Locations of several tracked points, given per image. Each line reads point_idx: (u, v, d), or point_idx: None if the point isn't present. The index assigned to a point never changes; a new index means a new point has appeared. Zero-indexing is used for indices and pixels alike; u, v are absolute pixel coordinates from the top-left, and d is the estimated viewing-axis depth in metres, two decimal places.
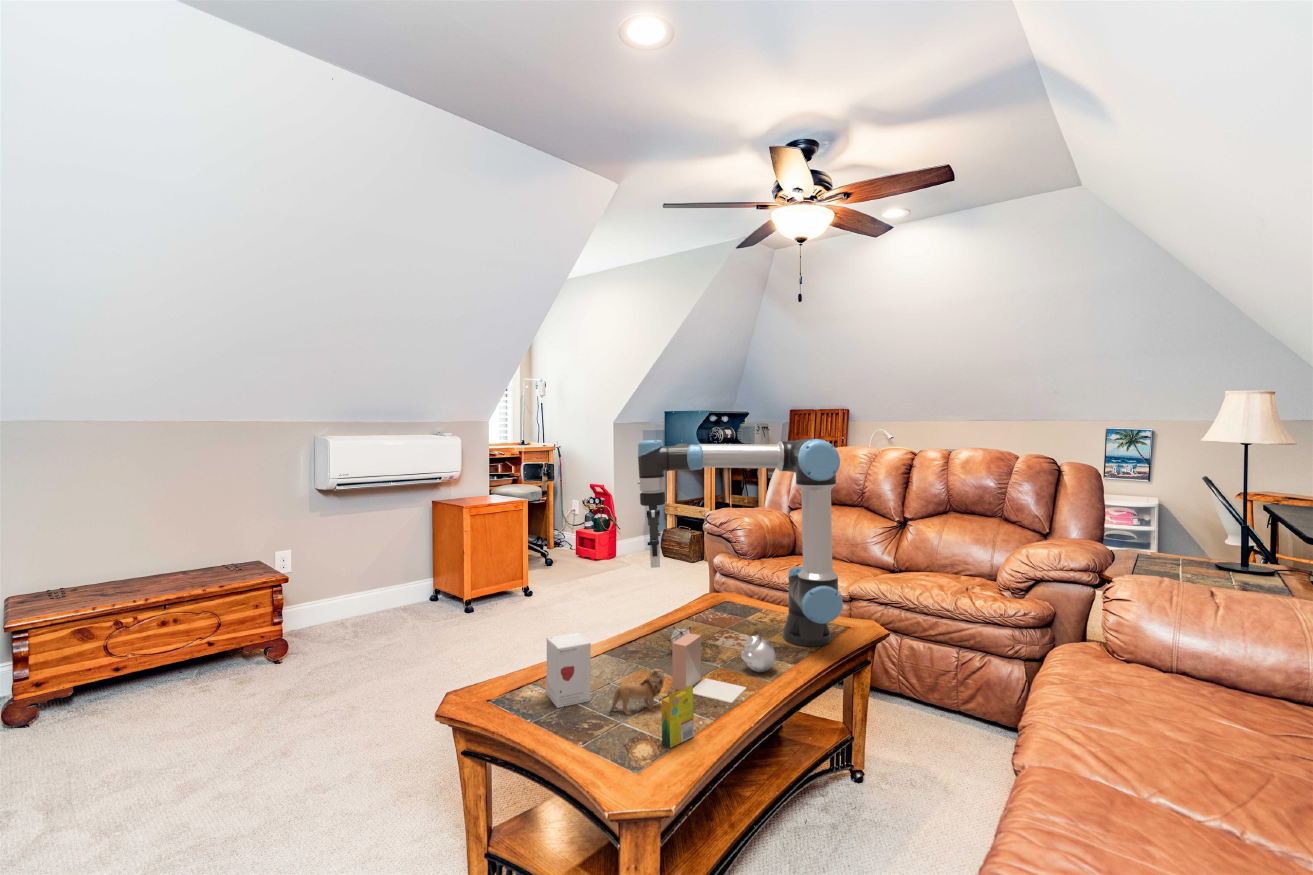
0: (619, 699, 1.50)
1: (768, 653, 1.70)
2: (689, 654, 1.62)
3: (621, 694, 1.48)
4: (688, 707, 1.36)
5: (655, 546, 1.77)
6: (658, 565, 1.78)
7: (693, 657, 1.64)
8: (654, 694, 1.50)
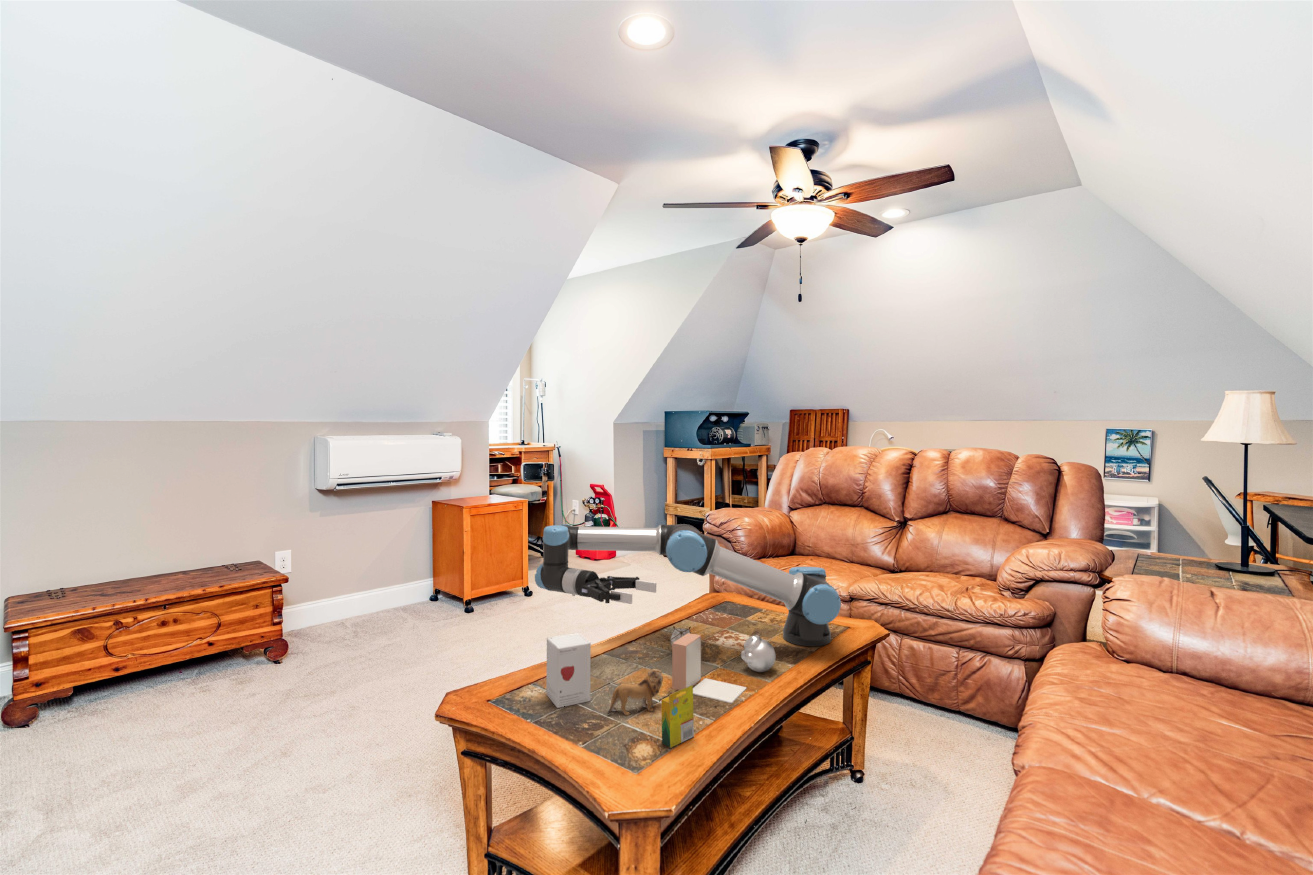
0: (617, 699, 1.50)
1: (768, 653, 1.70)
2: (689, 654, 1.62)
3: (619, 694, 1.48)
4: (688, 707, 1.36)
5: (609, 595, 1.68)
6: (629, 595, 1.66)
7: (693, 657, 1.64)
8: (652, 694, 1.50)
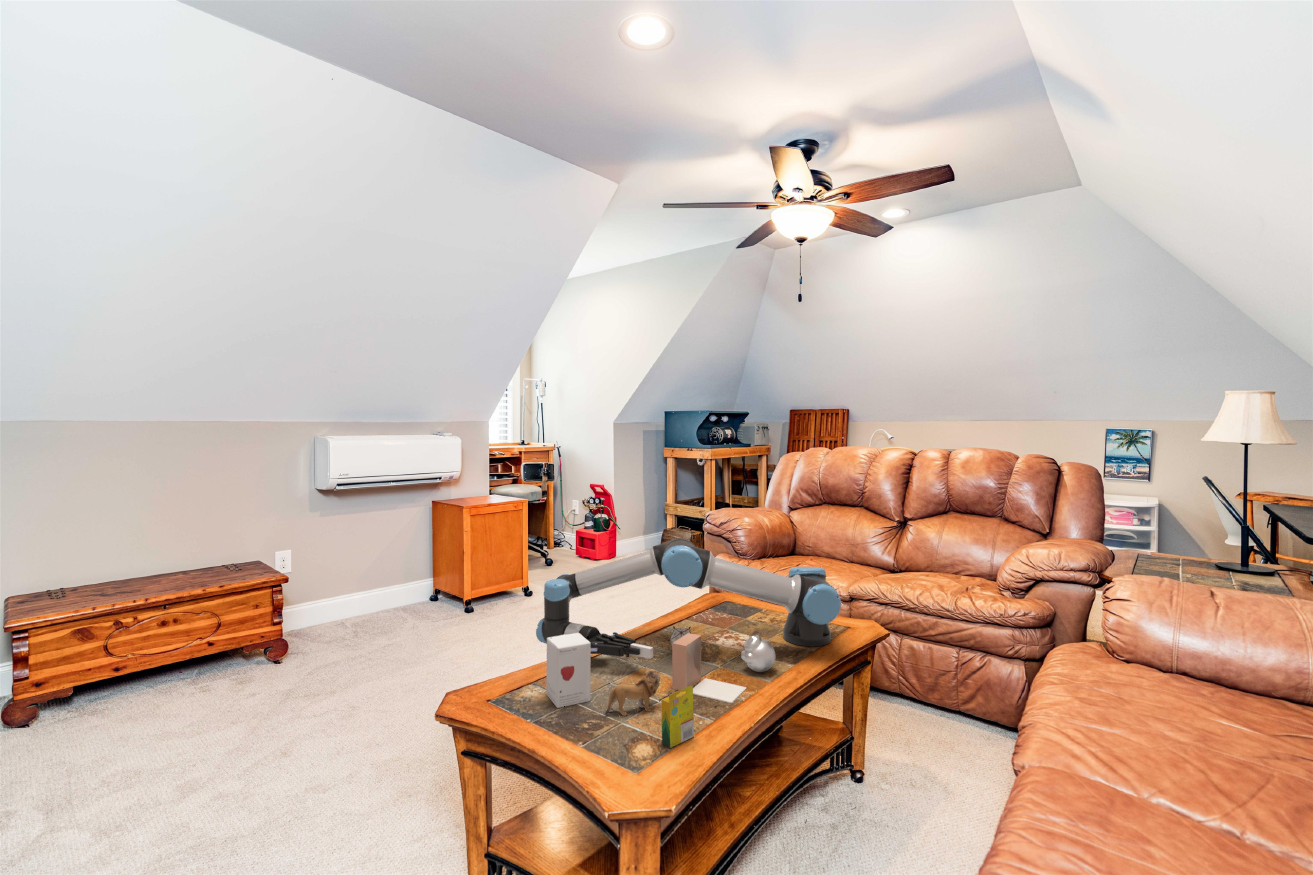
0: (615, 700, 1.50)
1: (768, 653, 1.70)
2: (689, 654, 1.62)
3: (617, 695, 1.48)
4: (688, 707, 1.36)
5: (628, 649, 1.72)
6: (648, 650, 1.70)
7: (693, 657, 1.64)
8: (650, 694, 1.50)
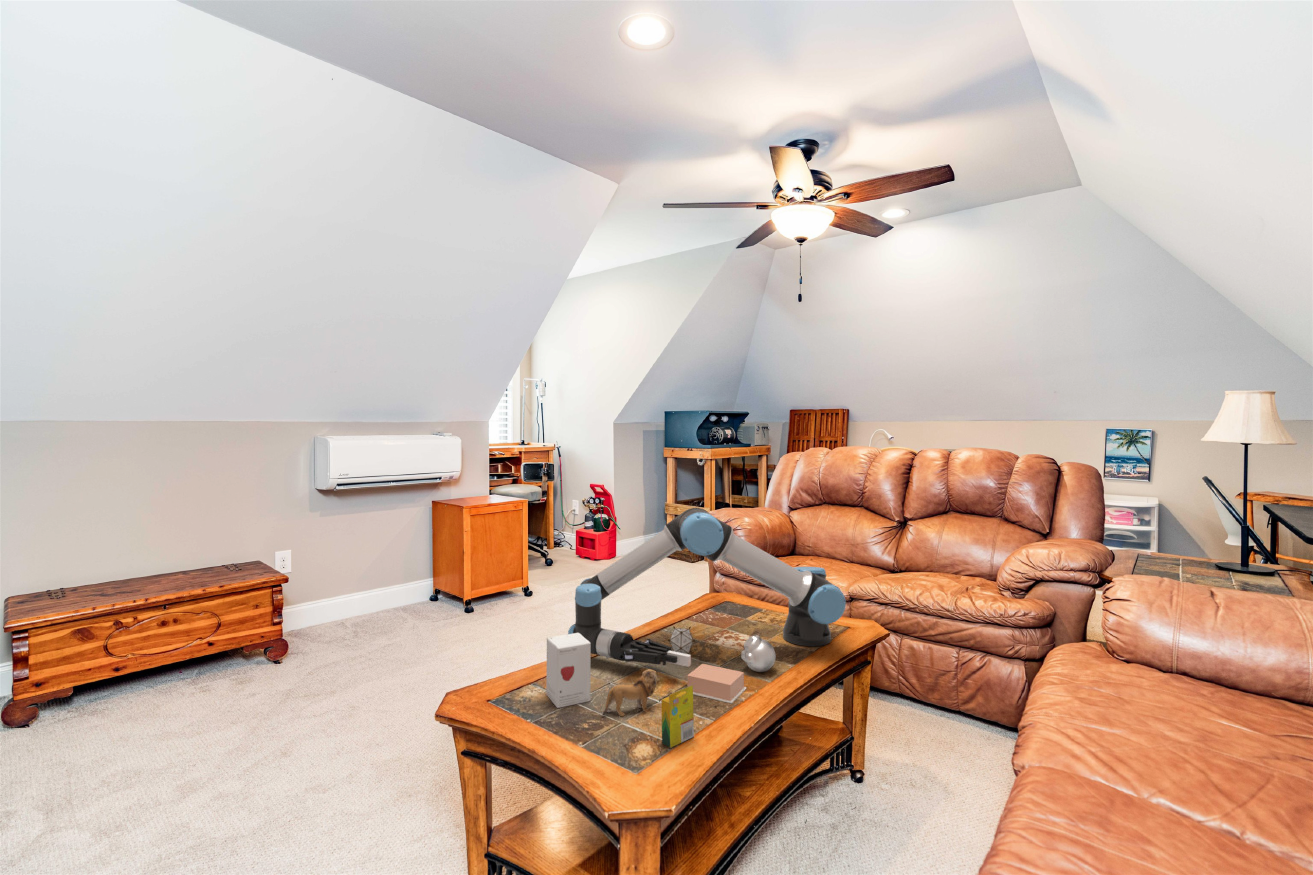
0: (612, 700, 1.49)
1: (768, 653, 1.70)
2: None
3: (614, 695, 1.48)
4: (688, 707, 1.36)
5: (665, 657, 1.66)
6: (686, 657, 1.65)
7: None
8: (647, 695, 1.50)
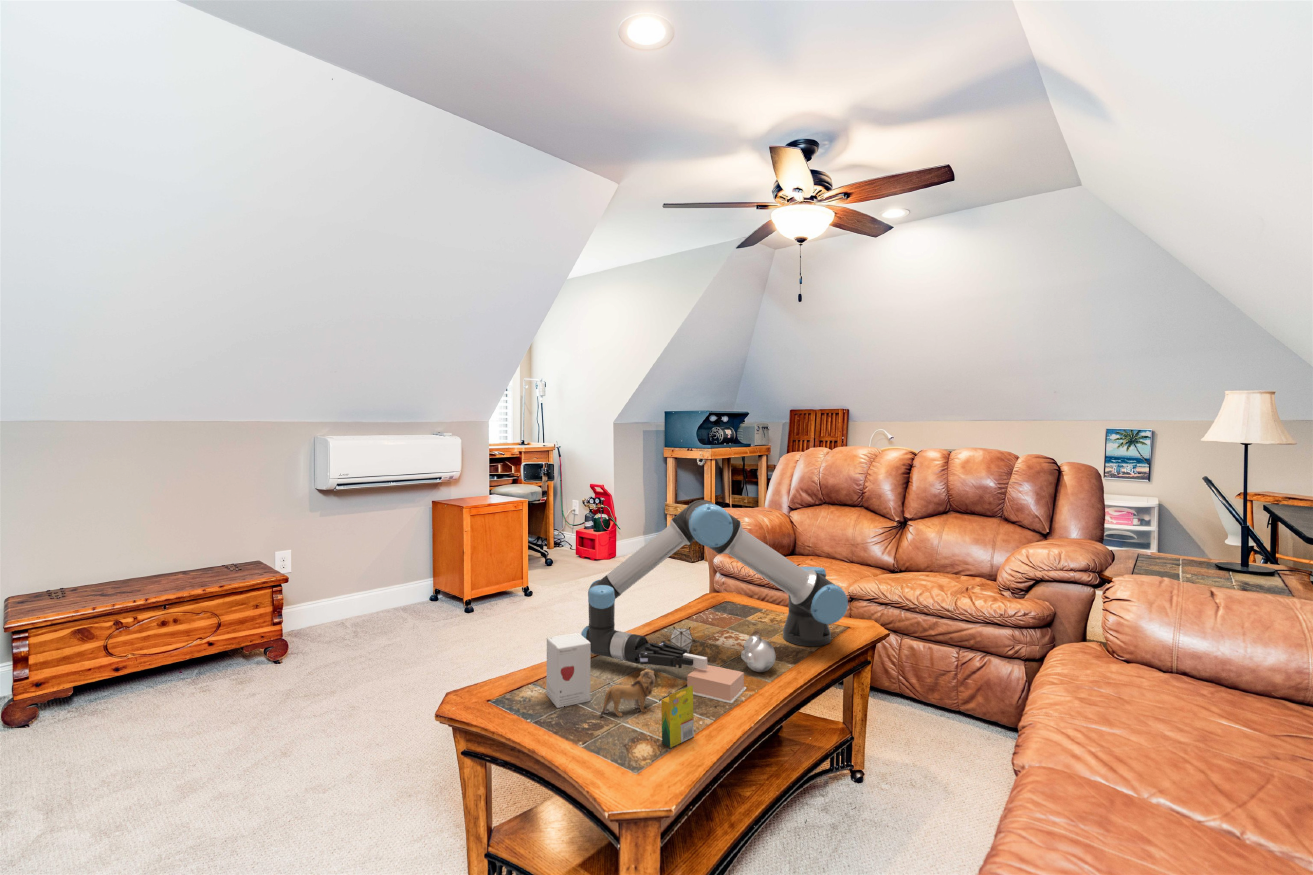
0: (610, 701, 1.49)
1: (768, 653, 1.70)
2: None
3: (612, 696, 1.47)
4: (688, 707, 1.36)
5: (681, 660, 1.64)
6: (703, 660, 1.62)
7: None
8: (645, 695, 1.49)
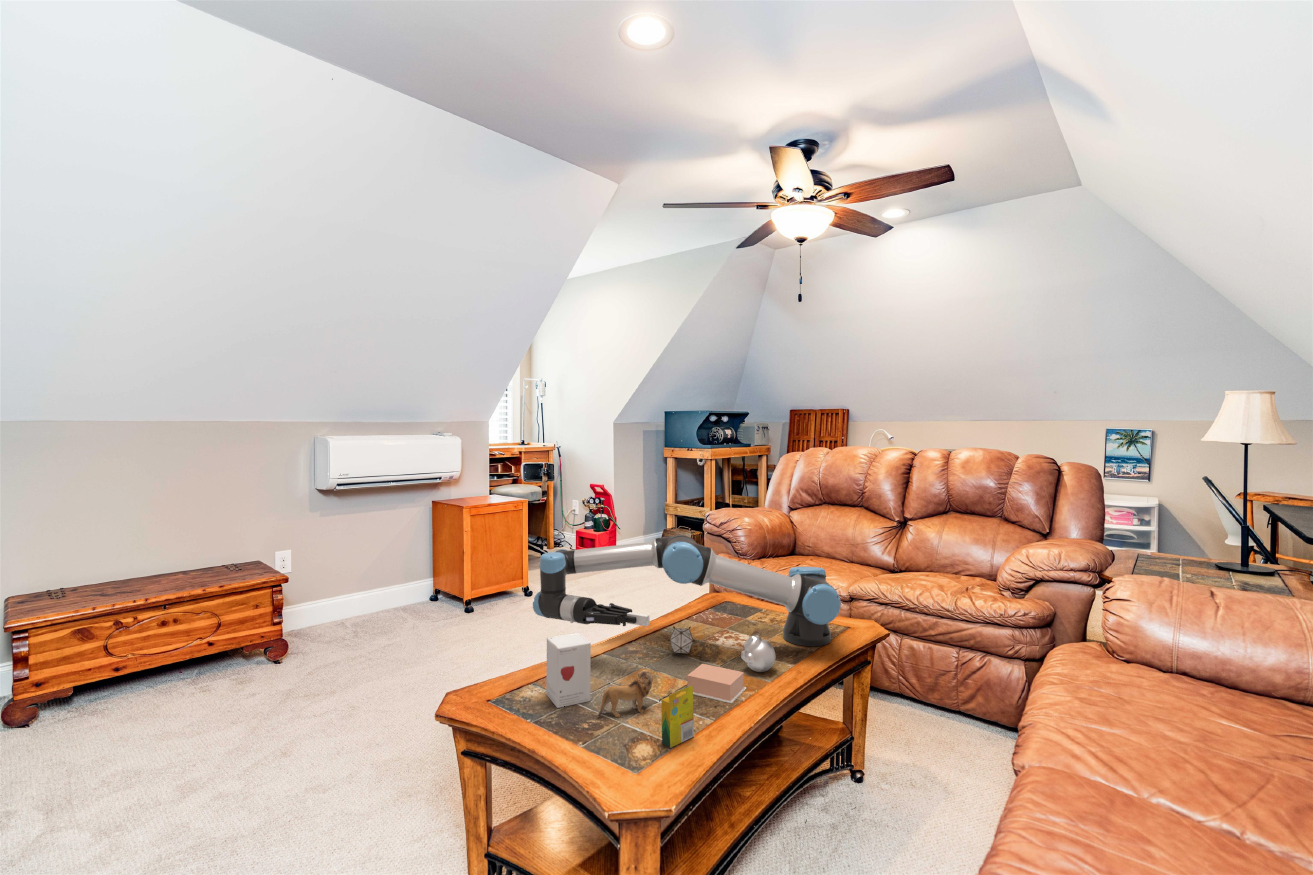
0: (608, 701, 1.49)
1: (768, 653, 1.70)
2: None
3: (610, 696, 1.47)
4: (688, 707, 1.36)
5: (625, 618, 1.72)
6: (645, 618, 1.71)
7: None
8: (643, 695, 1.49)
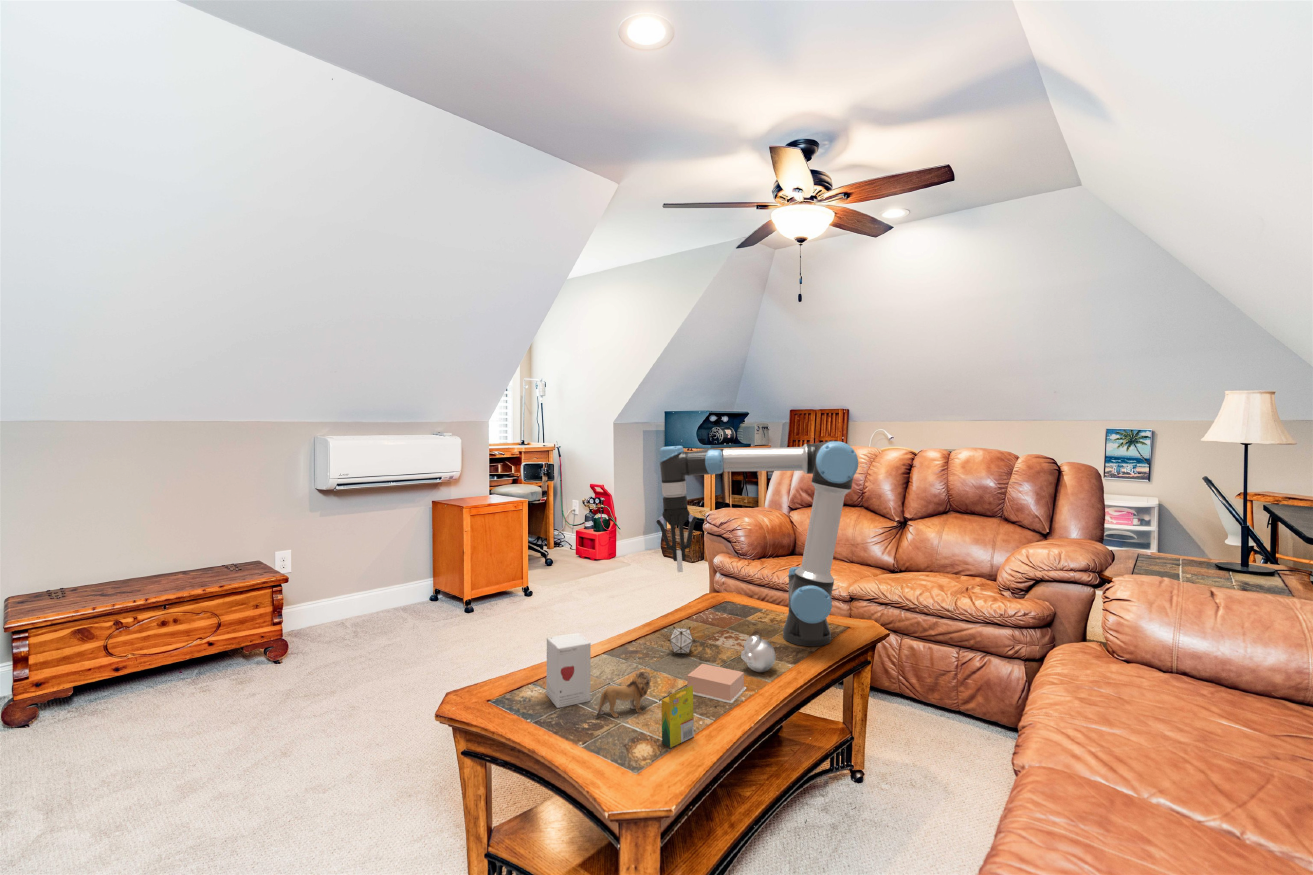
0: (605, 702, 1.49)
1: (768, 653, 1.70)
2: None
3: (608, 697, 1.47)
4: (688, 707, 1.36)
5: (672, 551, 1.93)
6: (678, 570, 1.92)
7: None
8: (641, 695, 1.49)
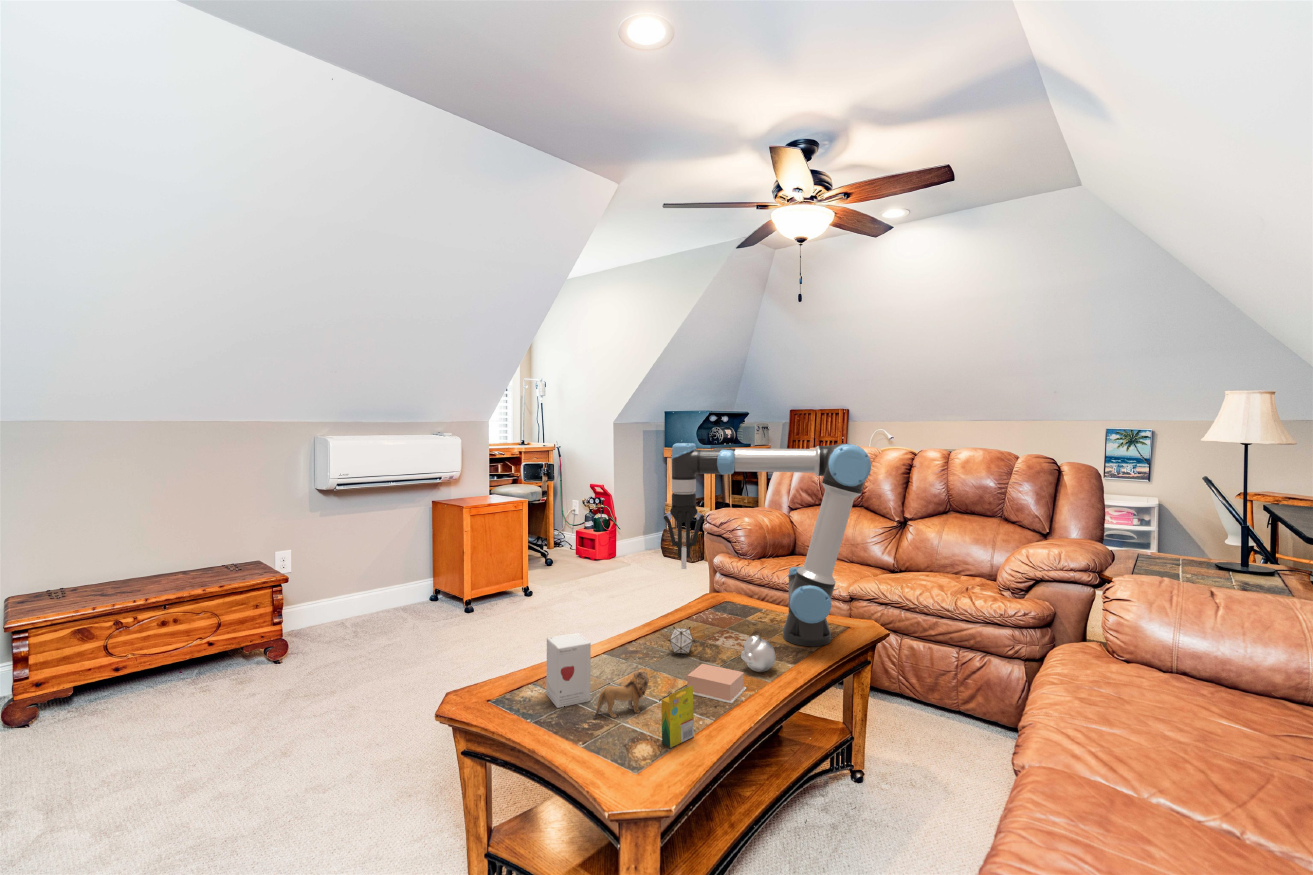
0: (604, 702, 1.49)
1: (768, 653, 1.70)
2: None
3: (606, 697, 1.47)
4: (688, 707, 1.36)
5: None
6: (681, 566, 1.93)
7: None
8: (639, 696, 1.49)
